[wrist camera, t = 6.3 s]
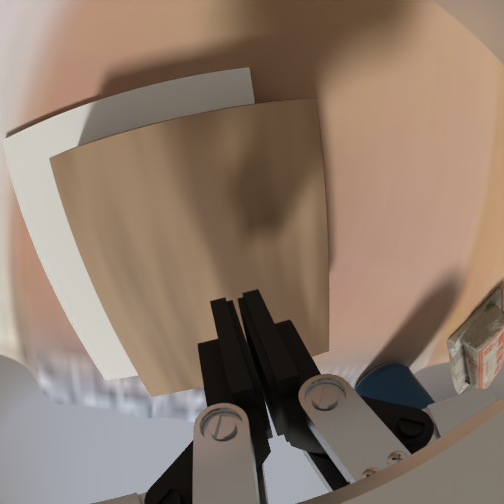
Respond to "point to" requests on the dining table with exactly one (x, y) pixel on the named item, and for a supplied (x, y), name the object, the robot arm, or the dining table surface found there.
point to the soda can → (394, 386)
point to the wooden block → (201, 229)
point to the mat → (49, 203)
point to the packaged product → (478, 346)
